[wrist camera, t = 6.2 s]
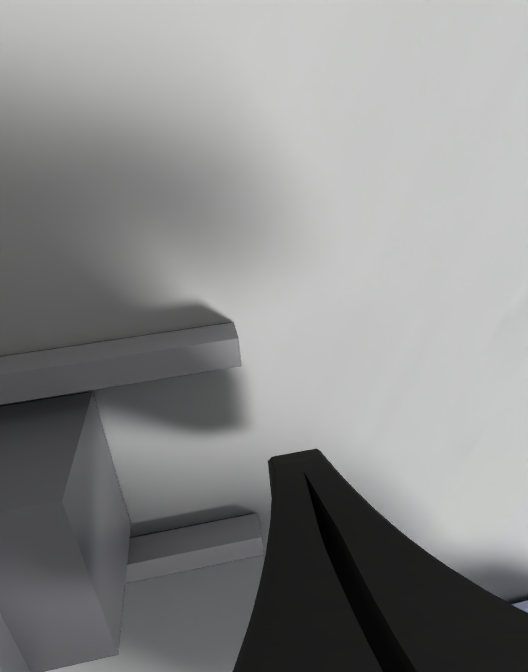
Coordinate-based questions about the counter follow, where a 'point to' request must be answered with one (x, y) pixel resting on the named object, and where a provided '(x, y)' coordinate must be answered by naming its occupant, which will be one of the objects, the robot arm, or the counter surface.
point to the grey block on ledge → (59, 536)
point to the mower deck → (133, 367)
